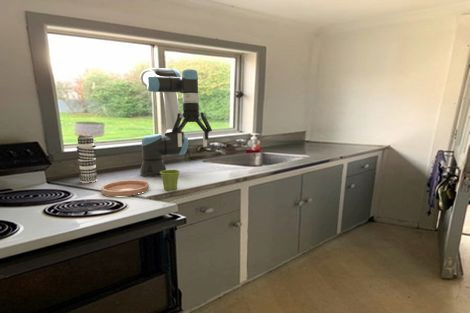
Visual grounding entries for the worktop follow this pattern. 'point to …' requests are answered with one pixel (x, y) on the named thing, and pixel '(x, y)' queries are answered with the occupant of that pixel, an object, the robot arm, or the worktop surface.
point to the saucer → (125, 188)
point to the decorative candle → (87, 158)
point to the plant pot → (170, 179)
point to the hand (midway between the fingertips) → (192, 146)
